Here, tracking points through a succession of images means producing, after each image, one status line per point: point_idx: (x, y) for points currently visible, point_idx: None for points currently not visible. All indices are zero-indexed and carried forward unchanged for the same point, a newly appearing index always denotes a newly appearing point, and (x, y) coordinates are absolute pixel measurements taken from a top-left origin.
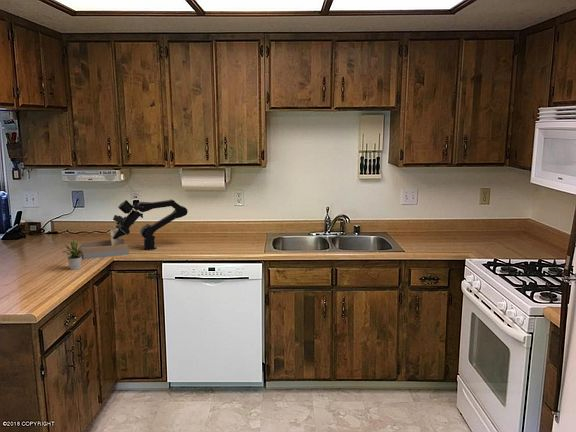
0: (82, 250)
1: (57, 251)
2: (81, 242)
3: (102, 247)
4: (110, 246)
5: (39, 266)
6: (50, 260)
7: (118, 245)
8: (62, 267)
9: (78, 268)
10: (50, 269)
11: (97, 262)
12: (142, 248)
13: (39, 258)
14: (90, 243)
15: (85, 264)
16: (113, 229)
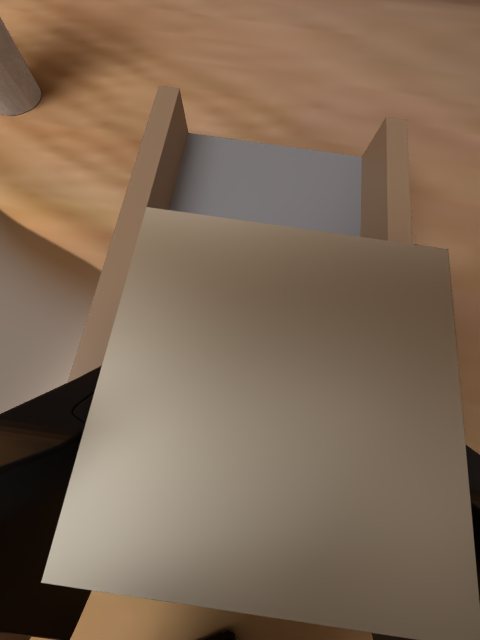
0: (269, 144)
1: (420, 99)
2: (393, 120)
3: (123, 212)
4: (100, 276)
5: (162, 6)
6: (243, 49)
7: (81, 356)
8: (78, 62)
9: None
10: (80, 25)
11: (49, 202)
12: (225, 634)
13: (308, 26)
14: (376, 188)
15: (55, 145)
16: (202, 298)
